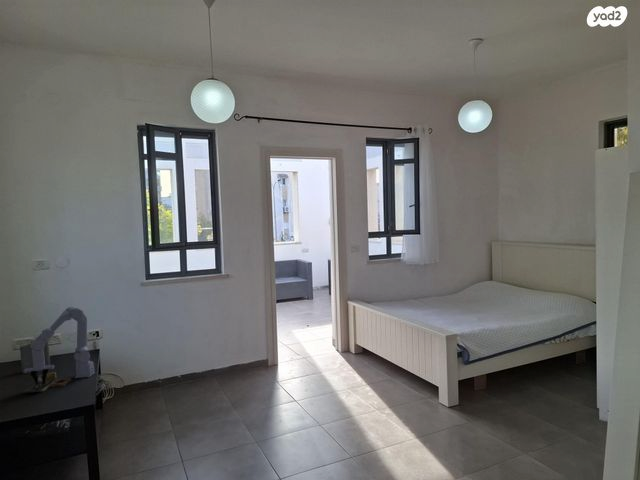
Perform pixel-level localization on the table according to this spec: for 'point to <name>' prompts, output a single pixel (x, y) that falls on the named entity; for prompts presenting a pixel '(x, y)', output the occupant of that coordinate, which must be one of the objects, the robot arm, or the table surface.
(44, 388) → the socket board
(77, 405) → the table surface
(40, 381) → the steel peg
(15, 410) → the table surface
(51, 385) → the frame
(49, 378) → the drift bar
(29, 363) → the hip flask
